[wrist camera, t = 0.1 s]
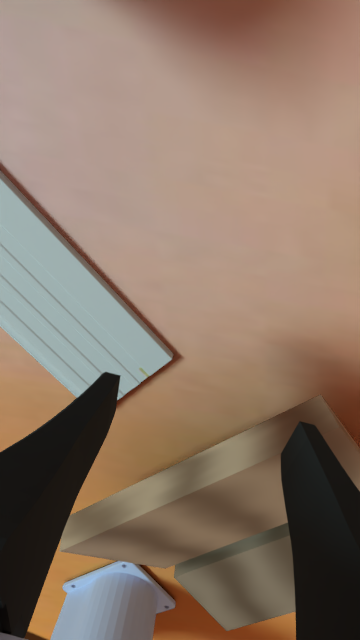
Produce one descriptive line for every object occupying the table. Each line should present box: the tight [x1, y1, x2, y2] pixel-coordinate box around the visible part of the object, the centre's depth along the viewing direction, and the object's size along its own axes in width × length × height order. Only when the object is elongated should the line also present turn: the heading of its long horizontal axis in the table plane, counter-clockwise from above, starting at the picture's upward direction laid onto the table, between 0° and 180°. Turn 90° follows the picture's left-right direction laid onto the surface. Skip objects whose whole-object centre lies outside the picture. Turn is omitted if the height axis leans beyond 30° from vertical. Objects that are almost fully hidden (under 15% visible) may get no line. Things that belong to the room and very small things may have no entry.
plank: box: [60, 395, 360, 568], centre depth 24 cm, size 20×12×2 cm, turn 126°
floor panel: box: [174, 523, 296, 631], centre depth 29 cm, size 20×10×2 cm, turn 126°
